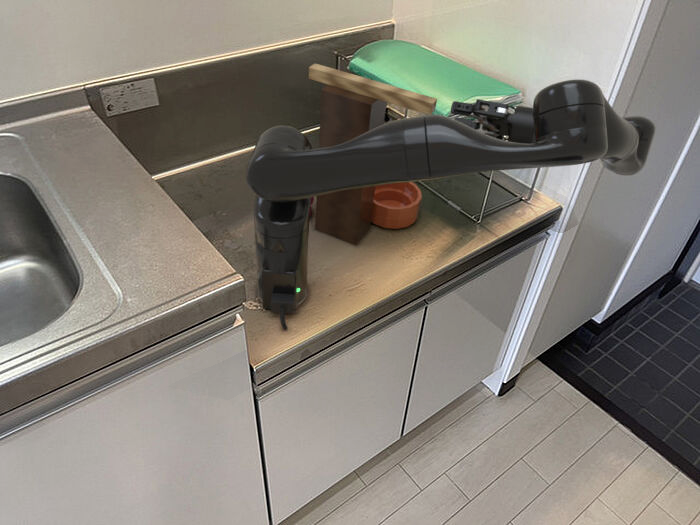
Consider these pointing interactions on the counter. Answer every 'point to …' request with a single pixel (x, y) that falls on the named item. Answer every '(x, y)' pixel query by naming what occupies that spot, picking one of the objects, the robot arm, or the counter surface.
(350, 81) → the stick
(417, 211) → the bowl
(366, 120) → the stand
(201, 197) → the counter surface
